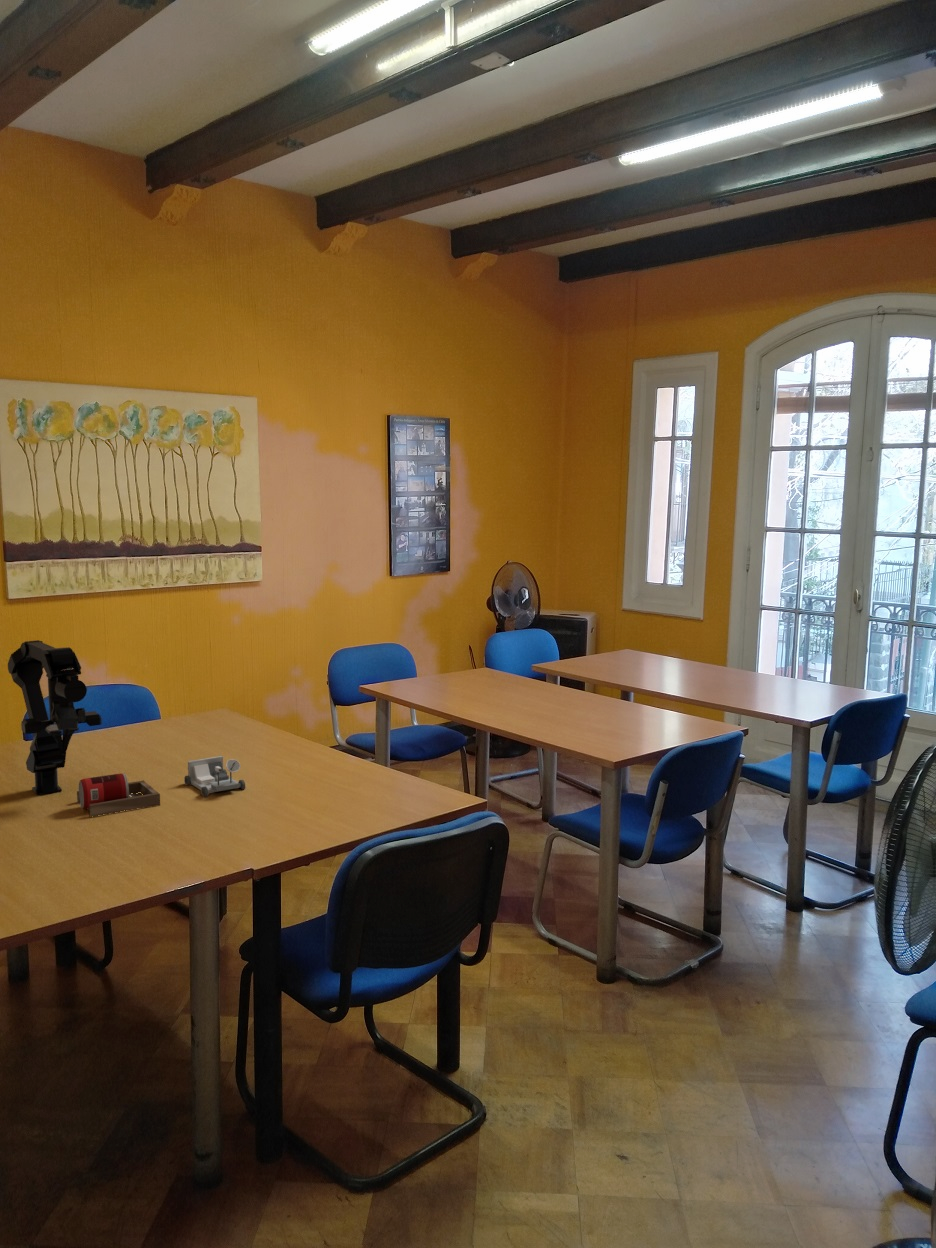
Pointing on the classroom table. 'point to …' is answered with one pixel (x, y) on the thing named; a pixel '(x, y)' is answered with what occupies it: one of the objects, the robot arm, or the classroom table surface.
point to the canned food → (103, 789)
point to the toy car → (212, 775)
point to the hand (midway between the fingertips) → (63, 754)
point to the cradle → (127, 800)
